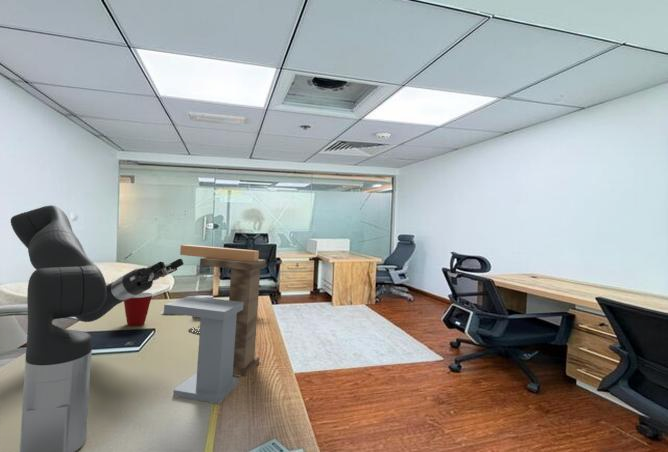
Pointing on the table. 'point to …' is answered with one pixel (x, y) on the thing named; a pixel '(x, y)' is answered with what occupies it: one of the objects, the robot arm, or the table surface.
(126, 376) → the table surface
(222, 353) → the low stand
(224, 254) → the bar
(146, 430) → the table surface
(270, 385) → the table surface
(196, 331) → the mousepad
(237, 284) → the tall stand
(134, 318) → the plastic cup
